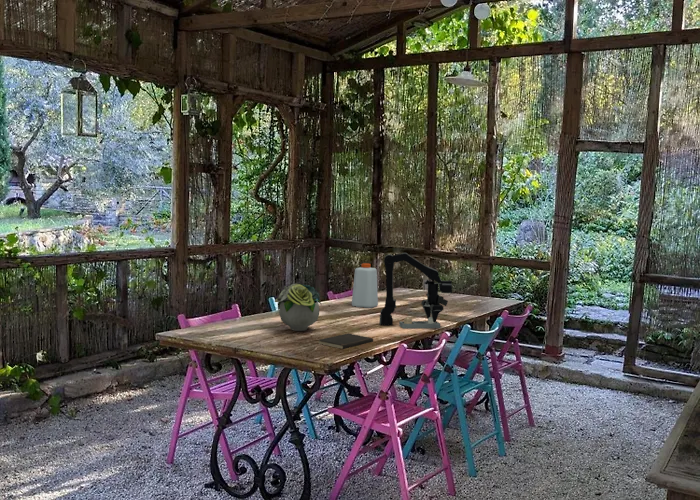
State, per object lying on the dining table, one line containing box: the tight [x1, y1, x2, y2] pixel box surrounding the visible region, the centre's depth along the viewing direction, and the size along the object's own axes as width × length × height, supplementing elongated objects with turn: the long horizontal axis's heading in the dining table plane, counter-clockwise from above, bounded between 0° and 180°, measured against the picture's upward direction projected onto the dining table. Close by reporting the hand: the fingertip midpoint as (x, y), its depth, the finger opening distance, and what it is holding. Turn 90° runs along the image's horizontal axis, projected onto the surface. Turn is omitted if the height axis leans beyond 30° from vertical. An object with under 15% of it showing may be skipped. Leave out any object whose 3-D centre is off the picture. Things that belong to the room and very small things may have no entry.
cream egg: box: [427, 316, 436, 323], centre depth 352 cm, size 4×4×6 cm
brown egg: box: [403, 316, 413, 324], centre depth 349 cm, size 4×4×6 cm
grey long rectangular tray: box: [398, 320, 441, 330], centre depth 351 cm, size 21×8×4 cm, turn 103°
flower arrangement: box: [274, 282, 322, 332], centre depth 338 cm, size 25×25×24 cm
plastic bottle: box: [351, 262, 379, 309], centre depth 422 cm, size 15×15×28 cm
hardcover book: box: [317, 332, 374, 350], centre depth 311 cm, size 16×23×2 cm
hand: (431, 320), depth 352 cm, fingers open, 9 cm apart
